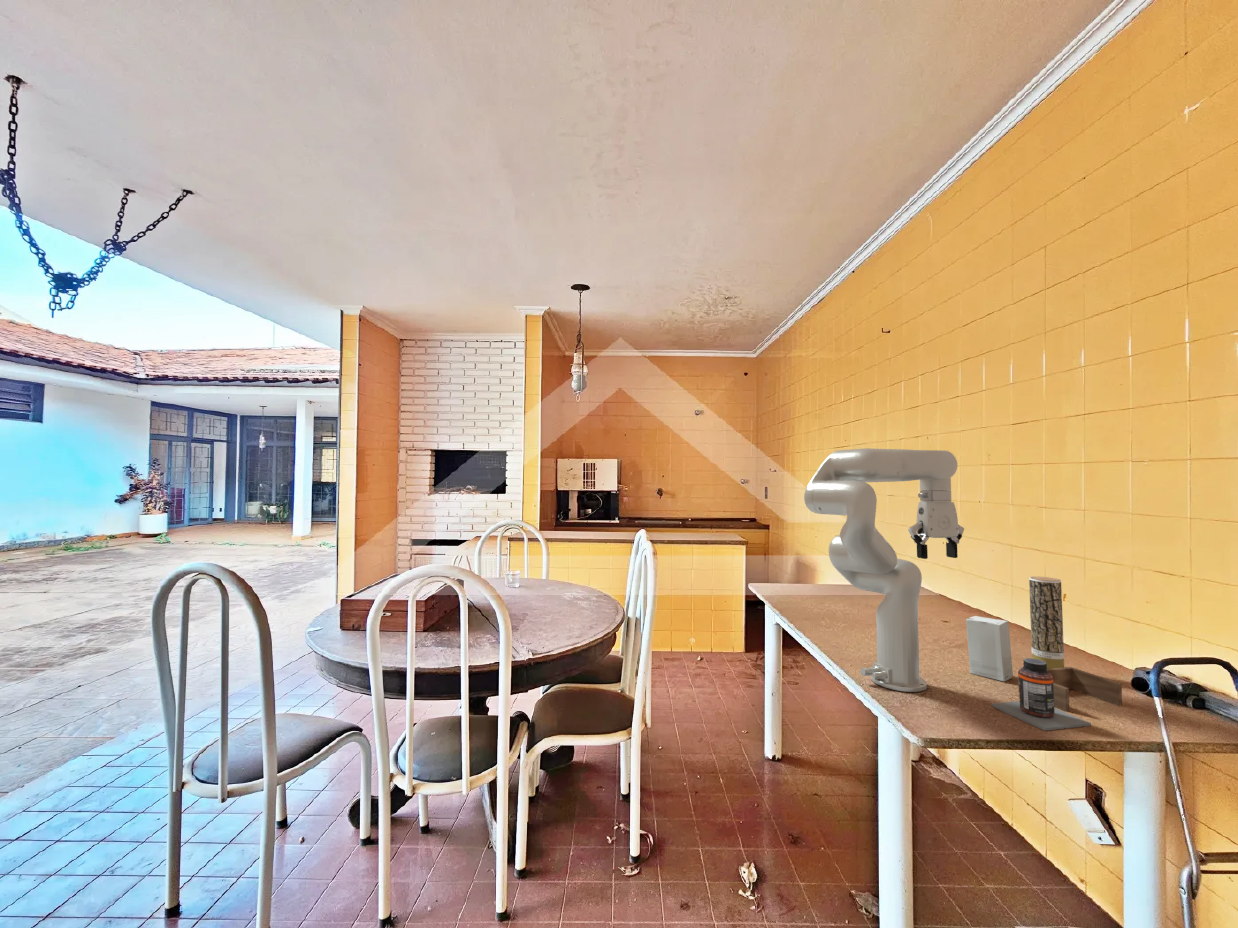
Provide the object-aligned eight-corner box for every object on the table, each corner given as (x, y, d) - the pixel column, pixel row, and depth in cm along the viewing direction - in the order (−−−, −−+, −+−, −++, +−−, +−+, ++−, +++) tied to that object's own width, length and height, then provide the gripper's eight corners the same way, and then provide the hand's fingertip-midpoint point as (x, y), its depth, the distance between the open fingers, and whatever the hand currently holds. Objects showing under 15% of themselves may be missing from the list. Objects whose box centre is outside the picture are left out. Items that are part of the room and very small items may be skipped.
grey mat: (1044, 730, 104) (1044, 728, 104) (991, 705, 116) (991, 703, 116) (1090, 725, 107) (1090, 723, 107) (1034, 701, 118) (1034, 699, 118)
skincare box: (1013, 678, 133) (1011, 621, 134) (1003, 682, 130) (1002, 624, 131) (977, 668, 140) (975, 614, 141) (967, 672, 137) (965, 617, 138)
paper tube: (1069, 676, 134) (1066, 581, 136) (1038, 673, 137) (1035, 580, 138) (1057, 667, 141) (1053, 577, 142) (1027, 664, 143) (1024, 575, 144)
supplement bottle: (1023, 704, 116) (1021, 654, 116) (1057, 713, 111) (1055, 661, 112) (1016, 712, 112) (1014, 660, 112) (1051, 721, 107) (1049, 667, 108)
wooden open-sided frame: (1066, 711, 113) (1065, 688, 114) (1018, 691, 124) (1017, 671, 124) (1122, 705, 116) (1121, 683, 117) (1071, 686, 127) (1070, 666, 128)
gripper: (919, 497, 138) (920, 560, 137) (973, 497, 141) (974, 558, 141) (899, 496, 146) (900, 556, 145) (950, 496, 149) (952, 555, 148)
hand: (937, 557), depth 143 cm, fingers open, 9 cm apart
